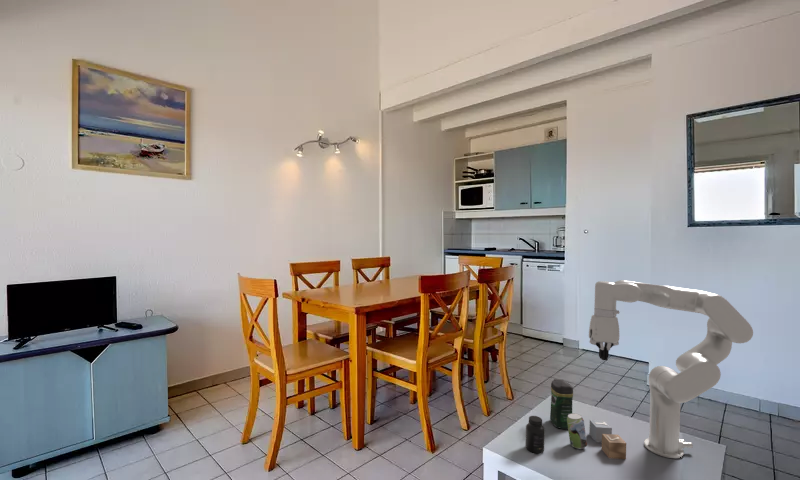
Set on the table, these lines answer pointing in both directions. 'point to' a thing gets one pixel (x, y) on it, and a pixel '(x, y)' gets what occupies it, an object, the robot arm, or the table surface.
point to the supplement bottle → (535, 435)
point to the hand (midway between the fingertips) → (603, 359)
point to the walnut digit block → (614, 446)
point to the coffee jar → (560, 402)
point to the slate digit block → (599, 429)
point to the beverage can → (576, 431)
